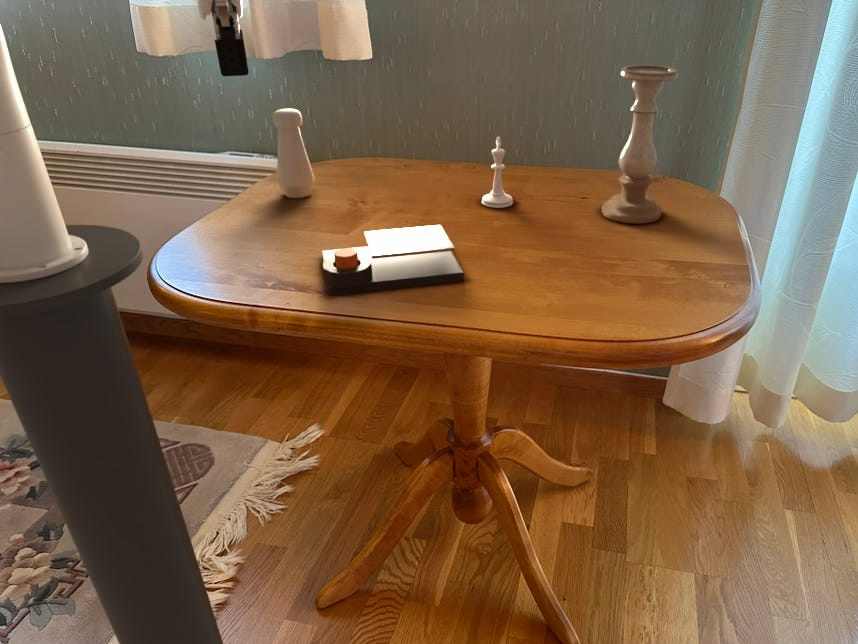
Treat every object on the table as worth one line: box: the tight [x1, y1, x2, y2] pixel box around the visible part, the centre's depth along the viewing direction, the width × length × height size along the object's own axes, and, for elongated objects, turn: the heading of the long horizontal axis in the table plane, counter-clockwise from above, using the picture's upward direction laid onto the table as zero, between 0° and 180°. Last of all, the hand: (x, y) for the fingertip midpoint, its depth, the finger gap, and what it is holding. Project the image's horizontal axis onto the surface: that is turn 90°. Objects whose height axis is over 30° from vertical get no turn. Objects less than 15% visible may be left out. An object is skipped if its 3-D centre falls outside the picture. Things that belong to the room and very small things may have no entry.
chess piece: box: [481, 136, 514, 209], centre depth 103 cm, size 5×5×10 cm
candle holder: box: [601, 64, 679, 224], centre depth 96 cm, size 9×9×20 cm
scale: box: [321, 245, 465, 297], centre depth 83 cm, size 16×12×3 cm
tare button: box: [334, 247, 358, 269], centre depth 78 cm, size 3×3×2 cm
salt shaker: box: [272, 108, 315, 199], centre depth 105 cm, size 6×6×13 cm
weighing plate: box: [363, 224, 456, 259], centre depth 84 cm, size 10×8×1 cm
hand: (235, 69), depth 86 cm, fingers open, 9 cm apart
